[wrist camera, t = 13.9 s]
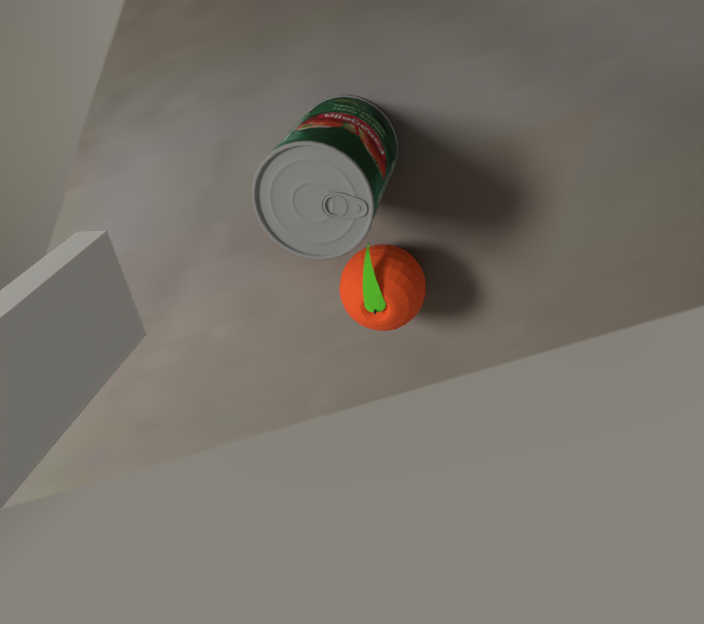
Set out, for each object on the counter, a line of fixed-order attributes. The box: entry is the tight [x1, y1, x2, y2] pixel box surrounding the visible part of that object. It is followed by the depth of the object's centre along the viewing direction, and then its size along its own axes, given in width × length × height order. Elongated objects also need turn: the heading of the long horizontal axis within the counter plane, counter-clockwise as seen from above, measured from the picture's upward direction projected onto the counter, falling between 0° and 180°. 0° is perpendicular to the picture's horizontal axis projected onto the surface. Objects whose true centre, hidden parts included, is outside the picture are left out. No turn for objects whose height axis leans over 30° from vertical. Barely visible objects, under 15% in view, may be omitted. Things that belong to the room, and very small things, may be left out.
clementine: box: [339, 243, 426, 331], centre depth 49 cm, size 8×7×7 cm
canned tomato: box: [252, 95, 398, 259], centre depth 43 cm, size 8×8×11 cm
